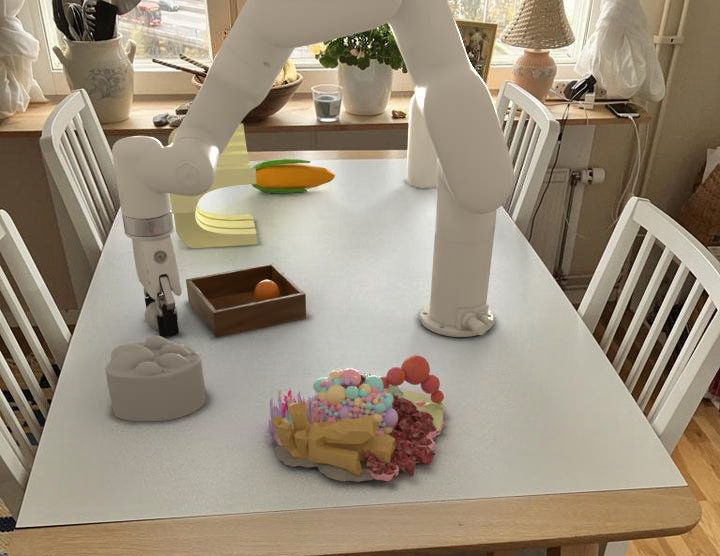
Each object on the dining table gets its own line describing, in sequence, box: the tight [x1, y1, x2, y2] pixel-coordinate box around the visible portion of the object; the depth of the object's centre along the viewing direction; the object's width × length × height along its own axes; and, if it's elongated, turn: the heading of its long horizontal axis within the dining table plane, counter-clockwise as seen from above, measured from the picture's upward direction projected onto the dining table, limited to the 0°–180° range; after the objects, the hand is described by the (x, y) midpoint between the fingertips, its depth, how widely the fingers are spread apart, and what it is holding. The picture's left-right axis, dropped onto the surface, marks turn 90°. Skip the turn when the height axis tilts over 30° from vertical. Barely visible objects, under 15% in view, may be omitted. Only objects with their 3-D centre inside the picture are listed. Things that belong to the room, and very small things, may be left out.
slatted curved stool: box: [167, 123, 259, 249], centre depth 170 cm, size 30×16×18 cm, turn 11°
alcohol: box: [405, 93, 438, 189], centre depth 194 cm, size 9×9×30 cm
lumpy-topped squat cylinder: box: [104, 335, 207, 422], centre depth 122 cm, size 10×13×9 cm
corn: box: [250, 158, 336, 194], centre depth 195 cm, size 7×8×20 cm
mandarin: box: [255, 280, 280, 302], centre depth 148 cm, size 4×4×4 cm
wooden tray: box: [185, 262, 307, 338], centre depth 147 cm, size 14×16×4 cm
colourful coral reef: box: [268, 354, 445, 483], centre depth 115 cm, size 25×24×9 cm
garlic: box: [144, 300, 179, 331], centre depth 141 cm, size 6×5×5 cm
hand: (163, 326), depth 142 cm, fingers closed on garlic, 6 cm apart
